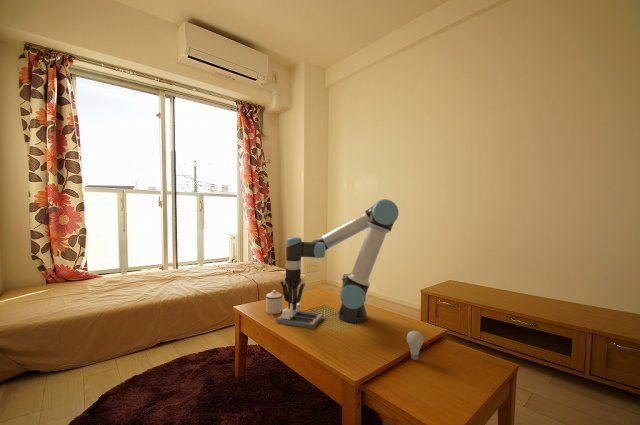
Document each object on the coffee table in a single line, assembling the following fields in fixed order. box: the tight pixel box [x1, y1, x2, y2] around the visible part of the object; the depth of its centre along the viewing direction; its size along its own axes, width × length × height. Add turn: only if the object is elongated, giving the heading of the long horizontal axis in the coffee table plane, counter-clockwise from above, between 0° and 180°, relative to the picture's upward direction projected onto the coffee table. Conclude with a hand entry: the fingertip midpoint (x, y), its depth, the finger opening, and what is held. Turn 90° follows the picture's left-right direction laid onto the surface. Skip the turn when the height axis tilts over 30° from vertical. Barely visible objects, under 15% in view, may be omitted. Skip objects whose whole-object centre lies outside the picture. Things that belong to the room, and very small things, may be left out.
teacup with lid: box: [265, 289, 283, 315], centre depth 155 cm, size 12×9×12 cm
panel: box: [275, 310, 324, 330], centre depth 143 cm, size 20×15×3 cm
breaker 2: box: [296, 302, 301, 312], centre depth 149 cm, size 4×3×4 cm
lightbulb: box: [406, 330, 425, 361], centre depth 106 cm, size 6×6×11 cm
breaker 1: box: [281, 308, 292, 320], centre depth 140 cm, size 4×3×4 cm
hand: (292, 315), depth 139 cm, fingers closed
